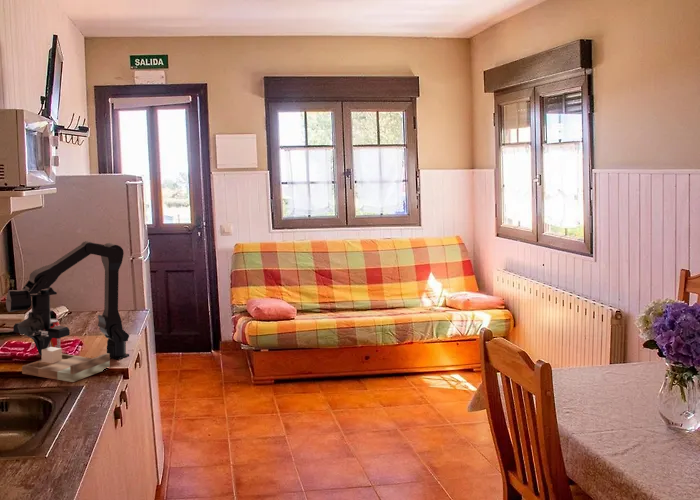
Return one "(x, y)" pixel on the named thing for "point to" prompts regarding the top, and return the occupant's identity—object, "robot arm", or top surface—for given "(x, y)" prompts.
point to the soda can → (54, 341)
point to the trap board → (68, 367)
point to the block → (51, 355)
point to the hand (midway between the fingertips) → (41, 355)
